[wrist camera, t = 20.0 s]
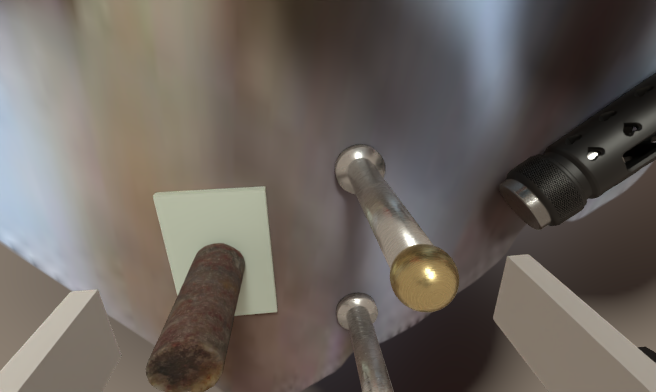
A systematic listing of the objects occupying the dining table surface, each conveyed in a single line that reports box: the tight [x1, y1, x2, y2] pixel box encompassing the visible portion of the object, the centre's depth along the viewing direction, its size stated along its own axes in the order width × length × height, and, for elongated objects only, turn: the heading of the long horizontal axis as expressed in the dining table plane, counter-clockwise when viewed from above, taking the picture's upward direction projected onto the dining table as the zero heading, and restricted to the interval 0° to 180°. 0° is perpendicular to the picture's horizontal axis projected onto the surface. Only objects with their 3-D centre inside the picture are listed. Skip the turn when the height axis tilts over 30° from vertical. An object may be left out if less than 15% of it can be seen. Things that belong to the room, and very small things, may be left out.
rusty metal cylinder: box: [146, 243, 245, 392], centre depth 42 cm, size 8×7×20 cm
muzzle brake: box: [499, 73, 656, 230], centre depth 46 cm, size 10×28×10 cm, turn 128°
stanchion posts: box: [335, 144, 459, 392], centre depth 41 cm, size 7×33×28 cm, turn 1°
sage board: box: [153, 186, 277, 316], centre depth 52 cm, size 15×22×1 cm
